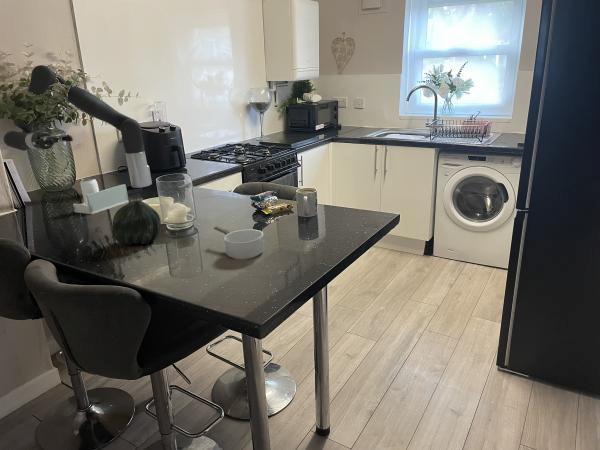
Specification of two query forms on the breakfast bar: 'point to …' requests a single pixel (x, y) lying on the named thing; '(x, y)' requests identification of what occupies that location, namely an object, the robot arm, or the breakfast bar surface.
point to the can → (88, 187)
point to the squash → (136, 223)
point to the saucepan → (243, 243)
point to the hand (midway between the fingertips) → (62, 140)
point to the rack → (103, 200)
